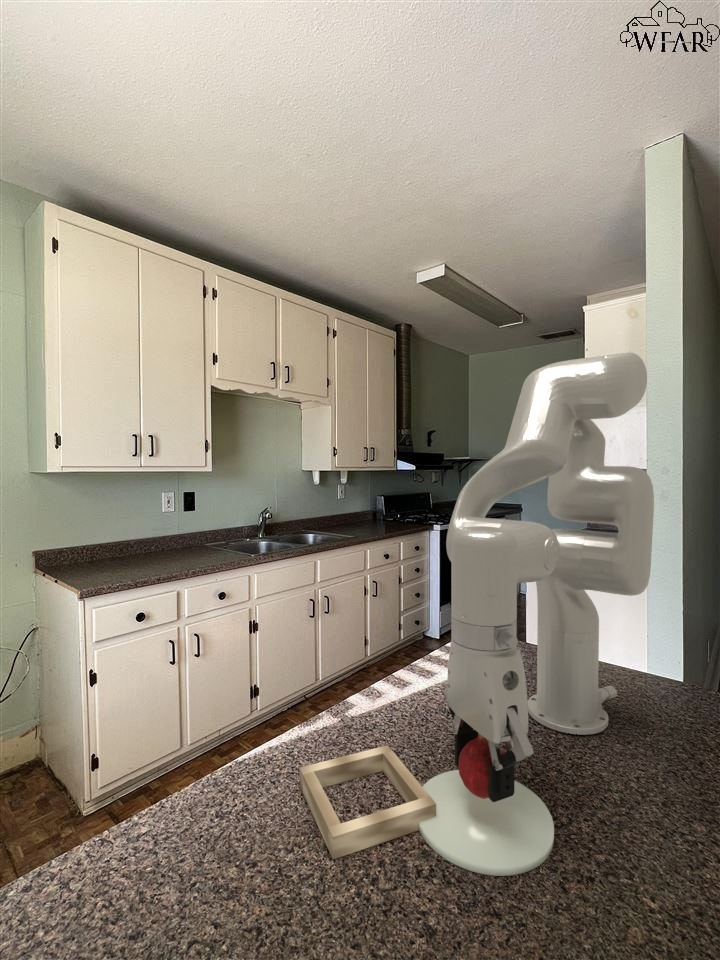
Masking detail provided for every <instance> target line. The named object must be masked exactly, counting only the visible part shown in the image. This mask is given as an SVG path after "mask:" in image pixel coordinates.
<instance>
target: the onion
mask: <svg viewBox="0 0 720 960" xmlns="http://www.w3.org/2000/svg"><path fill="white" fill-rule="evenodd" d="M478 735H479V736H478V737H477V738H476V739H473V740H471V741H469V742H468V743H467V744H466V745H465V747H464V748H463V749H462V751H461V753H460V756H459V765H458V767H457V768H458V770H459V775H460V777H461V779H462V781H463V783H464V785H465V787H466V788H467V789H468V790H469V791H470V792H471V793H472V794H474V795H475V796H477V797H480V798H482V799H486V798H489V765H492V764H493V763H492V758H491V753H490V748H489V744H488V740H487V739H486V738H485V737H483V736H482V735H481V734H479V733H478ZM499 749H500V753H501V755H502V754H503V753H504V752H503V750H502V749H501V747H499Z"/></svg>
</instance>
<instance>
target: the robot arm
mask: <svg viewBox="0 0 720 960" xmlns="http://www.w3.org/2000/svg"><path fill="white" fill-rule="evenodd" d="M647 383H648V373H647V367H646V365H645V362H644V360H643V359H642V357H641V356H640V355H638V354H637V353H635V352H621V353H620V352H619V353H615V354H607V355H599V356H591V357H584V358H582V357H581V358H577V359H576V358H575V359H568V360H561V361H557V362H554V363H549V364H547V365H544V366H542V367H540V368H537V369H535V370H533V371H531V372H530V374H529V375H527V377H526V378H525V380H524V382H523V384H522V387H521V391H520V394H519V398H518V401H517V403H516V404H517V405H516V408H515V411H514V414H513V418H512V421H511V424H510V425H511V426H510V429H509V432H508V435H507V439H506V442H505V446H504V448H503V449H502V450H501V451H500V452H498V454H496V455H494V456H493V457H492V458H491V459H489V460H488V461H487V462H485V464H484V465H483V466H481V468H480V469H478V471H477V472H476V473H474V474H473V475H472V476H471V477H470V479H469V480H468V481H466V483H465V484H464V486H463V487H462V489H461V490H460V492H459V494H458V497H457V499H456V502H455V505H454V509H453V511H452V514H451V518H450V522H449V524H448V525H449V526H448V528H447V533H446V540H445V542H446V543H445V545H446V546H445V547H446V553H447V557H448V559H449V561H450V563H451V571H450V573H451V581H450V582H451V584H450V585H451V586H450V587H451V589H450V590H451V593H450V595H451V607H450V608H451V614H450V616H451V619H450V620H451V622H450V623H451V624H450V626H451V640H450V646H449V653H448V664H447V665H448V666H447V682H446V683H447V686H446V687H445V688H444V690H443V695H444V696H445V697H444V698H445V699H446V702H447V704H448V706H449V707H448V711H449V713H450V716H451V719H452V723H451V728H452V731H453V733H455V735H454V764H455V766H456V767H457V768H458V765H459V756H460V753H461V751H462V749H463V748H464V747H465V745H466V744H467V743H468V742H469V741H471V740H473V739H476V738H477V737H478V736H479V734H481V735H482V736H483V737H485V738H486V739H487V740H488V744H489V748H490V753H491V758H492V763H493V764H492V765H489V799H490V800H491V801H492V802H496V801H499V800H502V799H505V798H508V797H511V796H513V795H514V780H515V766H517V765H518V764H519V763H521V762H523V761H524V760H525V759H527V758H530V757H532V755H534V749H533V746H532V745H531V742H530V740H529V738H528V732H529V715H530V717H532V718H533V719H534V720H535V721H536V722H537V723H538V724H540V725H542V726H544V727H546V728H548V729H551V730H554V731H556V732H560V733H564V734H568V733H569V735H570V734H571V735H576V734H577V735H578V736H579V735H580V736H582V735H583V736H587V735H589V736H590V735H595V734H598V733H601V732H604V731H605V730H606V729H607V727H608V725H609V715H608V712H607V711H606V710H605V709H604V707H603V706H602V704H603V703H604V702H605V701H606V700H610V699H614V698H616V697H617V696H618V692H617V689H616V688H615V687H614V686H613V685H607V686H604V687H601V688H600V687H599V664H600V662H599V653H600V652H599V651H600V650H599V645H600V617H599V613H598V610H597V608H596V606H595V603H594V602H593V600H592V599H591V597H590V595H589V594H588V593H587V591H593V592H594V591H595V592H600V593H608V594H613V595H620V596H629V597H630V596H639V595H641V594H642V593H644V592H645V590H646V589H647V587H648V584H649V583H650V582H649V581H650V577H651V567H652V552H653V550H652V548H653V532H654V531H653V530H654V512H655V494H654V493H655V491H654V486H653V482H652V480H651V477H650V475H649V474H648V473H647V472H646V471H645V470H644V469H643V468H642V469H641V468H639V467H635V466H627V465H626V466H625V465H618V466H615V465H608V466H607V465H605V454H606V453H605V452H606V437H605V436H604V434H603V432H602V431H601V429H600V428H599V426H598V425H597V424H596V423H595V422H594V421H593V420H600V419H614V418H618V417H621V416H623V415H625V414H626V413H628V412H629V411H630V410H632V409H633V408H635V407H636V406H637V405H638V404H639V403H640V402H641V400H642V399H643V397H644V396H645V393H646V391H647V390H646V389H647V387H648V384H647ZM547 478H548V483H547V484H548V485H547V495H546V496H547V498H546V499H547V508H548V512H549V513H550V514H551V516H552V517H554V518H556V519H558V520H561V521H568V522H575V523H588V524H599V525H600V524H601V525H613V526H615V527H617V530H618V532H607V531H596V530H595V531H594V530H588V529H587V530H586V529H584V530H583V529H574V528H552V529H551V528H550V527H548V526H546V525H544V524H543V523H538V522H535V521H527V520H517V519H516V520H512V519H505V518H490V517H486V516H487V514H488V513H489V511H490V510H491V508H492V507H493V505H495V504H496V503H497V502H498V501H500V500H501V499H502V498H503V497H506V496H507V495H509V494H511V493H513V492H514V491H517V490H520V489H523V488H526V487H528V486H530V485H533V484H535V483H537V482H538V483H539V482H541V481H543V480H546V479H547ZM534 582H535V584H536V585H535V586H536V595H537V596H536V600H537V601H536V602H537V630H536V631H537V634H536V635H537V642H536V643H537V647H536V649H537V652H536V654H537V655H536V656H537V657H536V658H537V661H536V662H537V663H536V666H537V667H536V668H537V669H536V694H535V693H534V694H533V695H531V696H529V698H528V688H527V681H526V680H527V679H526V672H525V666H524V662H523V657H522V652H521V650H519V649H518V648H517V646H518V644H519V640H518V638H517V637H518V635H517V634H518V628H517V627H518V626H517V625H518V622H517V621H518V620H517V617H518V616H517V615H518V607H517V606H518V590H517V589H518V584H524V583H534ZM500 744H504V745H505V749H506V751H505V752H503V754H502V755H501V753H500V749H501V748H500ZM499 748H500V749H499Z"/></svg>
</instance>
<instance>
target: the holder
mask: <svg viewBox="0 0 720 960" xmlns="http://www.w3.org/2000/svg"><path fill="white" fill-rule="evenodd" d="M381 772H383V773H384V775H385V776H386V777H387V779H388V780H389V782H390V783H391V784H392V785H393V787H394V788H395V789H396V790H397V792H398V793H399V795H400V796H401V797H402V799H403V800H404V801H405V803H402V804H399V805H395V806H393V807H388V808H386V809H383V810H380V811H376V812H373V813H371V814H366V815H364V816H360V817H358V818H354V819H351V820H348V821H345V822H342V823H341V821H340V819H339V817H338V815H337V814H336V811H335V809H334V808H333V805H332V804H331V802H330V800H329V798H328V795H327V794H326V792H325V789H323V788H327V787H330V786H334V785H338V784H341V783H344V782H348V781H352V780H355V779H359V778H362V777H366V776H370V775H374V774H377V773H381ZM299 787H300V790H301V793H302V794H303V796H304V799H305V801H306V803H307V805H308V808H309V810H310V812H311V814H312V816H313V819H314V821H315V823H316V825H317V827H318V830H319V832H320V834H321V836H322V839H323V840H324V843H325V845H326V847H327V850H328V851H329V854H330V856H331V858H332V860H336V859H338V858H339V859H340V858H342V857H345V856H348V855H351V854H353V853H357V852H359V851H362V850H366V849H368V848H372V847H374V846H377V845H381V844H382V843H386V842H389V841H391V840H394V839H397V838H400V837H404V836H407V835H408V834H412V833H415V832H418V831H419V822H420V821H423V820H426V819H429V818H432V817H435V816H436V803H435V801H434V800H433V799H432V798H431V797H430V795H429V794H428V793H427V792H426V791H425V789H424V788H423V785H421V783H420V782H419V781H418V780H417V778H415V776H414V774H412V773H411V771H410V770H409V769H408V768H407V766H406V765H405V764H404V763H403V762H402V761H401V759H400V758H399V757H398V756H397V754H396V753H395V752H394V751H393V750H392V749H391V748H390V746H389V745H388V744H387V745H383V746H378V747H375V748H371V749H367V750H363V751H360V752H355V753H352V754H347V755H344V756H340V757H336V758H333V759H328V760H325V761H321V762H317V763H313V764H309V765H306V766H300V767H299Z"/></svg>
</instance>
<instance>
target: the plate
mask: <svg viewBox="0 0 720 960" xmlns="http://www.w3.org/2000/svg"><path fill="white" fill-rule="evenodd" d="M422 787H423V788H424V789H425V791H426V792H427V793H428V794H429V795H430V797H431V798H432V799H433V800H434V801H435V803H436V816H435V817H432V818H429V819H426V820H423V821H420V822H419V830H418V831H419V833H420V834H421V836H422V838H423V840H424V841H425V842H426V844H428V845H429V847H430V848H431V849H432V850H433V851H434V852H435V853H437V854H438V855H439V856H440V857H442V858H443V859H444V860H446V861H448V862H450V863H451V864H453V865H455V866H457V867H459V868H462V869H464V870H467V871H470V872H474V873H475V874H481V875H485V876H486V875H487V876H495V877H497V876H498V877H504V876H506V877H508V876H509V877H510V876H516V875H521V874H524V873H527V872H529V871H532V870H534V869H536V868H538V867H539V866H540V865H542V864H543V863H544V862H545V861H546V860H547V859H548V857H549V856H550V854H551V853H552V851H553V847H554V843H555V842H554V841H555V823H554V820H553V816H552V815H551V813H550V810H549V809H548V807H547V805H546V804H545V803H544V802H543V801H542V798H540V797H539V796H538V795H537V794H536V793H534V792H533V791H532V790H531V789H529V788H528V787H526V785H524V784H523V783H521V782H518V781H517V780H515V779H514V795H513V796H511V797H508V798H505V799H502V800H499V801H496V802H492V801H491V800H490V799H489V798H486V799H482V798H480V797H477V796H475V795H474V794H472V793H471V792H470V791H469V790H468V789H467V788H466V787H465V785H464V783H463V781H462V779H461V777H460V775H459V769H454V770H449V771H446V772H442V773H439V774H437V775H435V776H433V777H431V778H430V779H429V780H428V781H426V782H425V783H424V784H423V785H422Z"/></svg>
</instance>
